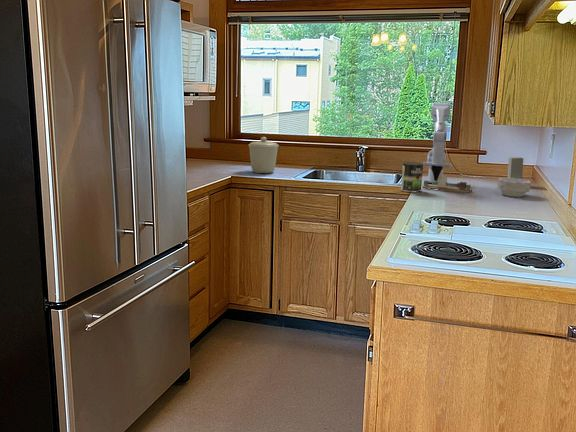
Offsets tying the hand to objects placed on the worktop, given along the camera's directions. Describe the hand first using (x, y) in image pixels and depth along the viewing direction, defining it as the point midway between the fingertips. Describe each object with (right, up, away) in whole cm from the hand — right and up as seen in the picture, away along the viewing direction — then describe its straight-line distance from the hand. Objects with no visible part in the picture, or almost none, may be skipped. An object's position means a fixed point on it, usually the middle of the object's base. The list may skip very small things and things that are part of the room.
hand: (435, 180), depth 289 cm
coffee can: (-15, -6, -7) cm, 17 cm away
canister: (-92, +7, +39) cm, 101 cm away
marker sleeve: (+3, -3, -1) cm, 5 cm away
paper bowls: (+35, -8, -12) cm, 38 cm away
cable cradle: (+5, -5, -2) cm, 7 cm away
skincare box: (+47, -2, +17) cm, 50 cm away
